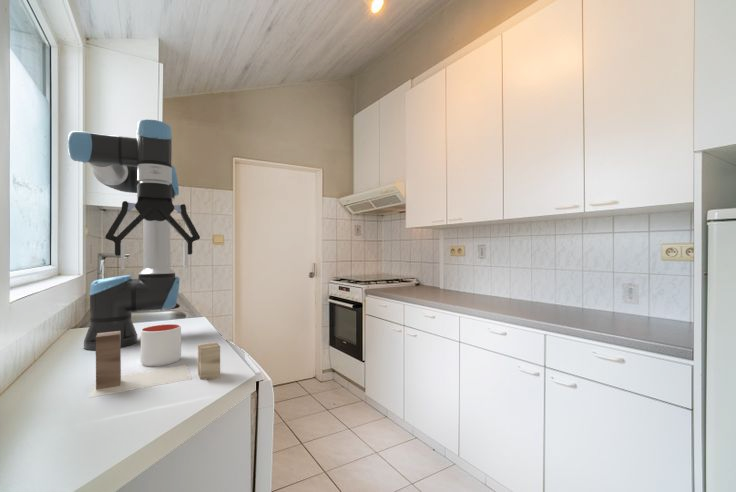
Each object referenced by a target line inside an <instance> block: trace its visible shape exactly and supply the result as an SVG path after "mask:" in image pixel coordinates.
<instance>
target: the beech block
mask: <svg viewBox="0 0 736 492" xmlns="http://www.w3.org/2000/svg"><path fill="white" fill-rule="evenodd" d="M197 375H198V377H199V379H200V380H207V381H210V380H215V379H221V345H220V344H219V343H218V341H215V342H207V343H200V344H199V343H198V344H197Z"/></svg>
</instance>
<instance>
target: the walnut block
mask: <svg viewBox="0 0 736 492" xmlns="http://www.w3.org/2000/svg"><path fill="white" fill-rule="evenodd" d="M121 348H122V347H121V331H114V332H105V333H98V334H97V336H96V350H95V380H96V390H101V389H106V388H112V387H118V386H120V383H121V375H122V372H121V371H122V370H121V368H122V358H121V356H122V355H121V354H122V351H121V350H122V349H121Z"/></svg>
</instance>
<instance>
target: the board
mask: <svg viewBox="0 0 736 492" xmlns="http://www.w3.org/2000/svg"><path fill="white" fill-rule="evenodd" d="M189 371H190V370H189V368H188V366H187V364H183V365H177V366H171V367H165V368H160V369H151V370H148V371H147V370H146V371H141V372H134V373H128V374H121V383H120V386H118V387H112V388H106V389H101V390H96V379H95V381H94V384H93V387H92V390H91V391H90V392H91V393H90V396H89V398H94V397H95V398H96V397H101V396H106V395H111V394H116V393H122V392H128V391H133V390H139V389H145V388H149V387H151V388H152V387H156V386H160V385H167V384H172V383H177V382H182V381H188V380H193V378H192V375H191V374H190V372H189Z"/></svg>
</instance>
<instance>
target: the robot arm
mask: <svg viewBox="0 0 736 492" xmlns="http://www.w3.org/2000/svg"><path fill="white" fill-rule="evenodd" d="M136 128H137V129H136V133H135V135H136V137H131V136H129V137H128V136H121V135H120V136H119V135H112V134H105V133H98V132H97V133H96V132H89V131H87V130H86V131H78V130H76V131H75V130H72V131H71V132H69V134H68V136H67V137H68V139H67V149H68V150H67V151H68V155H69V157H70V159H71V160H72V161H74V162H79V163H80V162H81V163H84V164H87V163H88V164H89V165H90V166H91V167H92V172H93V175H94V177H95V178H96V180H98V181H99V182H100V183H101V184H103V185H104V186H106V187H108V188H111V189H114V190H116V191H120V192H124V193H130V194H131V193H132V194H137V195H136V202H130V201H127V200H125V201H122V204H121V210H120V211H119V213H118V215H117V217H116V218H115V219H114V222H113V223H112V225H110V228H109V230H108V231H107V233H106V234H105V236H104V237H105V239H106V240H108V241H112V242H114V255H115V257H116V256H117V257H119V256H120V271H123V270H125V269H126V267H125V266H126V261H125V259H126V257H125V252H126V249H125V244H126V243H125V242H122V241H123V239H125V237H126V236H128V235H129V234H130V233H131V232H132V231H133V230H134V229H135V228H136V227H137V226H138V225H139V224H140V223H141V222H142V221H143V222H142V226H143V229H142V230H143V231H142V232H143V233H142V238H143V239H142V241H143V242H142V243H143V247H142V248H143V249H142V253H143V257H142V258H143V259H142V261H143V267H142V268H143V269H142V270H141V271H140V272H138V278H133V277H132V276H131V274H126V275H118V276H113V277H112V276H111V277H106V278H100V279H95V280H93V281H92V282H91V283H90V289H89V304H90V305H89V313H90V314H89V318H90V319H89V326H88V329H87V332H86V334H85V336H84V340H83V349H84V350H87V351H96V336H97V334H98V333H105V332H114V331H121V348H122V347H126V346H131V345H133V344H136V343H137V342H138V333H137V330H136V328H135V325H134V323H133V320H132V313H135V312H136V313H138V312H149V311H163V310H170V309H173V308H175V307H176V304H177V302H178V296H179V290H180V277H179V276H176V271H174V269H172V267H171V226H172V227H173V228H174V229H175V231H177V233H178V234H179V235H180V236H181V237H182V238H183V239H184V240H185V242H183V243H182V245H183V246H182V247H183V249H182V251H183V253H182V254H183V255H182V257H183V259H182V261H183V265H182V266H183V267H182V268H188V267H189V255H192V254H193V242H195V241H198V240H200V239H201V236H200V235H199V232H198V231H197V228H196V227H195V225H194V223H193V222H192V220H191V218H190V216H189V214H188V212H187V206H186V204H185V203H182V204H176V205H174V204H173V202H174V201H175V197H176V196H179V195H180V191H179V190H180V189H179V180H178V175H177V170H176V168H175V166H174V165H173V164H172V157H173V156H172V155H173V151H172V147H173V145H172V140H173V136H172V128H171V126H170V124H168V123H166V122H165V121H161V120H156V119H142V120H139V121H138V122H137V127H136ZM132 209H135V210H136V211H137V212H138V213H139V214H138V216H136V218H135V219H133V220H132V221H131V222H130V224H128V225H127V226H126V227H125V228H124V229H123V230H122V231H121V232H120V233H119V234H118V235H116V236H115V234H116V232H117V230H118V229H119V227H120V225H121V224H122V222H123V220H124V218H125V217H126V215H127V213H128V212H131V211H132ZM174 210H175V211H176V212H177V213H178V214H180V216H181V218H182V219H183V221H184V223H185V225H186V227H187V229H188V231H189V232H190V234H191V235H192V236H190V235H189V234H188V233H187V232H186V230H185V229H184V228H183V227H182V226H181V225H180V223H178V222H177V221H176V219H175V218H174V217H173V216H172V215H171V214H172V213H173V211H174Z"/></svg>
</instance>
